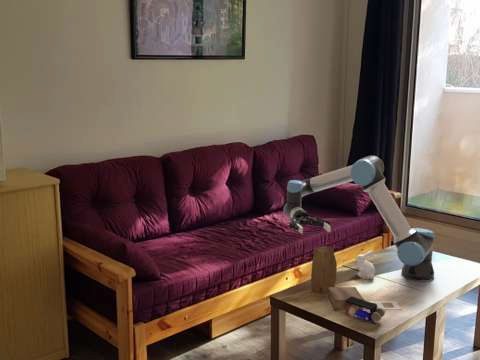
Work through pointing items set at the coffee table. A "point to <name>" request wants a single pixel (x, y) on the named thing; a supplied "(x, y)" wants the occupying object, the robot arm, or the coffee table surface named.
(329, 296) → the tower base
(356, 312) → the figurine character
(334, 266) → the block
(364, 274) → the rabbit
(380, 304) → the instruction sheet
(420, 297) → the coffee table surface
